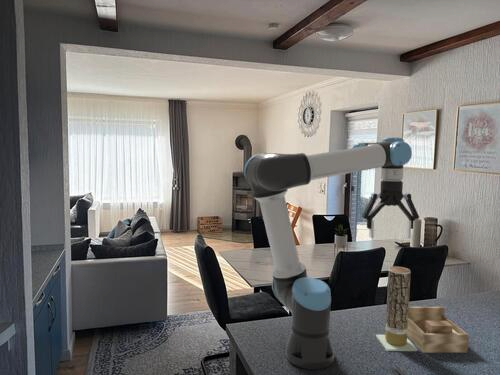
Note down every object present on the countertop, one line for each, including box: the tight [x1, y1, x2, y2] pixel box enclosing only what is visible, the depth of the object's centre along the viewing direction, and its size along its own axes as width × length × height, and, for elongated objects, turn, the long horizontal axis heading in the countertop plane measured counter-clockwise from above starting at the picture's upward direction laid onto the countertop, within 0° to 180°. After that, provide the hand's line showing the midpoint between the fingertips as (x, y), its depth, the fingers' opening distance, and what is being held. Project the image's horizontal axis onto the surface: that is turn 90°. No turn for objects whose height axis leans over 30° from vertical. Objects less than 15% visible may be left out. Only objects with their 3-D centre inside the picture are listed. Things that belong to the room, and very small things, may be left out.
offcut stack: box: [425, 321, 457, 333], centre depth 123 cm, size 11×4×8 cm, turn 92°
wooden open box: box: [407, 306, 470, 354], centre depth 128 cm, size 15×15×9 cm
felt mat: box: [375, 334, 419, 352], centre depth 126 cm, size 10×10×1 cm
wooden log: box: [384, 265, 412, 346], centre depth 125 cm, size 7×7×25 cm
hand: (389, 237), depth 138 cm, fingers open, 13 cm apart
